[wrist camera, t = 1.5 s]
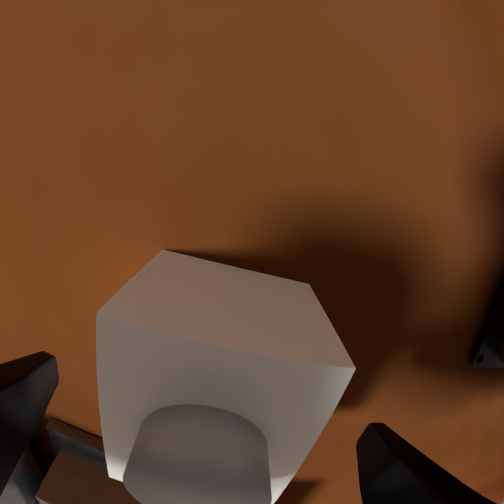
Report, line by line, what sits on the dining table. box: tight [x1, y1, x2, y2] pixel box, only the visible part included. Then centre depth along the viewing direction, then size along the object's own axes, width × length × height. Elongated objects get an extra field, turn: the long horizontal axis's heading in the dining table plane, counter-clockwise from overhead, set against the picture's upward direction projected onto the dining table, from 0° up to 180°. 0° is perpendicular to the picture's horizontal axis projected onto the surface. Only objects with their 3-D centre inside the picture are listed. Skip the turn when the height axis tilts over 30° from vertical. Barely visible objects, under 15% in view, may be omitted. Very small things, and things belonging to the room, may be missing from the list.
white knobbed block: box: [96, 250, 356, 504], centre depth 7 cm, size 5×6×6 cm
